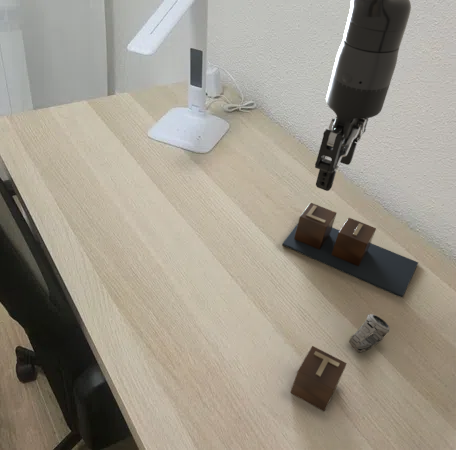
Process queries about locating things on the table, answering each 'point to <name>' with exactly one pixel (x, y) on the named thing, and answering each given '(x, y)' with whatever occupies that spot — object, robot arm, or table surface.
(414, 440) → the table surface
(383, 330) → the silver wristwatch
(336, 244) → the tile
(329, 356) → the tile
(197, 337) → the table surface
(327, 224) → the tile
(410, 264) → the mat
